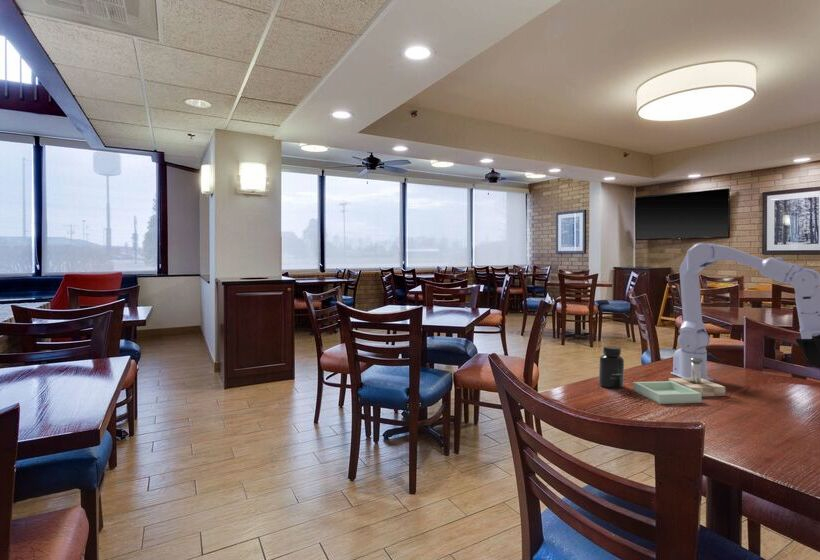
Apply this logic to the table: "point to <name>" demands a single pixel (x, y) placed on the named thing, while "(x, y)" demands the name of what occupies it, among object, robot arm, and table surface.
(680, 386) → the green tray
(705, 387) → the birch block
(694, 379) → the steel pin
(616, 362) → the supplement bottle
